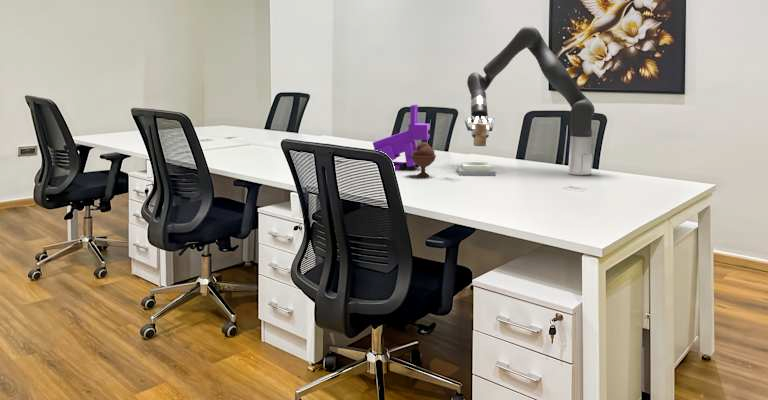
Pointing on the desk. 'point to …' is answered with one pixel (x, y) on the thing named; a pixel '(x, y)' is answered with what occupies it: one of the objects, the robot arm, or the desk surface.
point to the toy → (405, 141)
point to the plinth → (476, 173)
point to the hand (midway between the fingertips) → (480, 136)
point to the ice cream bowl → (423, 157)
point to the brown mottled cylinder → (480, 134)
